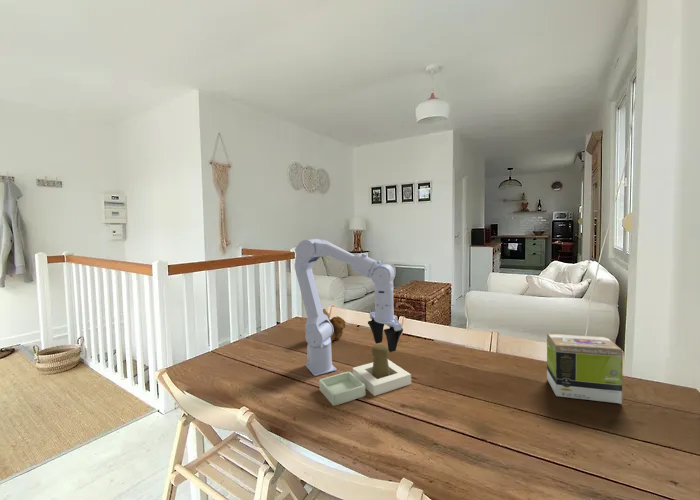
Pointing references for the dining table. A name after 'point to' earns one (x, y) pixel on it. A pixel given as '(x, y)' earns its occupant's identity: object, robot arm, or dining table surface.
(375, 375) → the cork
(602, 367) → the tea box
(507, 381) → the dining table surface
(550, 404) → the dining table surface
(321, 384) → the tray
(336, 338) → the stuffed squirrel
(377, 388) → the holder
